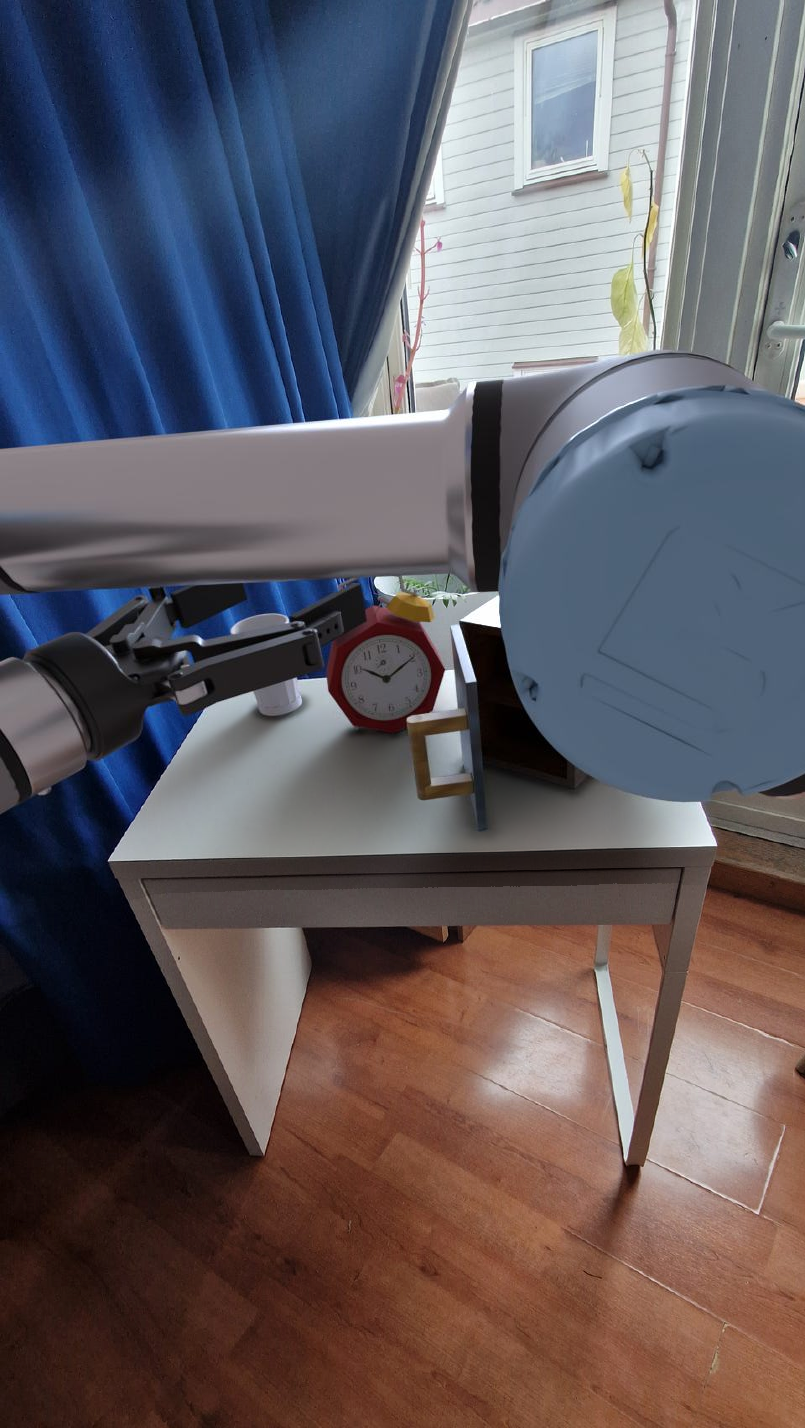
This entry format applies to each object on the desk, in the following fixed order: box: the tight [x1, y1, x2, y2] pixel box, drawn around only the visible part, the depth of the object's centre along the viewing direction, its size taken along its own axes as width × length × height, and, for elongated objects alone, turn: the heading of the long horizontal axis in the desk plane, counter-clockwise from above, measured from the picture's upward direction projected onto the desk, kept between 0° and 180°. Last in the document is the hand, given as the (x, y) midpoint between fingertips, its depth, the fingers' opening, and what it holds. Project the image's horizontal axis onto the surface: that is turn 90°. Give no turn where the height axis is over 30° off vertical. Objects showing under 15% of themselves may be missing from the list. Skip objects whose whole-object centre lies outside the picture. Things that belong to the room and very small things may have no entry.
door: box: [406, 623, 488, 831], centre depth 76 cm, size 7×14×17 cm, turn 3°
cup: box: [230, 613, 303, 717], centre depth 101 cm, size 8×8×12 cm
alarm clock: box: [325, 576, 446, 734], centre depth 91 cm, size 15×9×20 cm, turn 97°
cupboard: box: [458, 595, 589, 790], centre depth 81 cm, size 11×14×17 cm
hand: (296, 591), depth 56 cm, fingers open, 13 cm apart
